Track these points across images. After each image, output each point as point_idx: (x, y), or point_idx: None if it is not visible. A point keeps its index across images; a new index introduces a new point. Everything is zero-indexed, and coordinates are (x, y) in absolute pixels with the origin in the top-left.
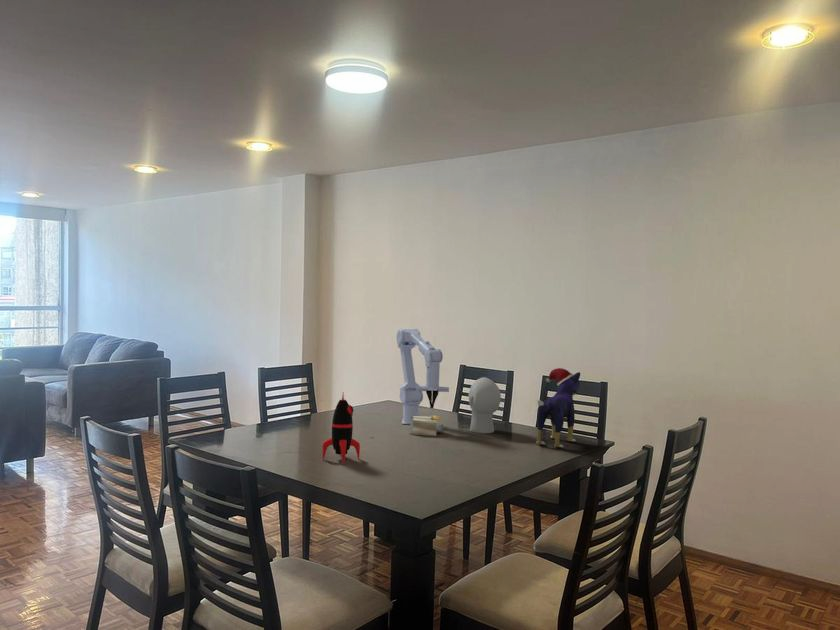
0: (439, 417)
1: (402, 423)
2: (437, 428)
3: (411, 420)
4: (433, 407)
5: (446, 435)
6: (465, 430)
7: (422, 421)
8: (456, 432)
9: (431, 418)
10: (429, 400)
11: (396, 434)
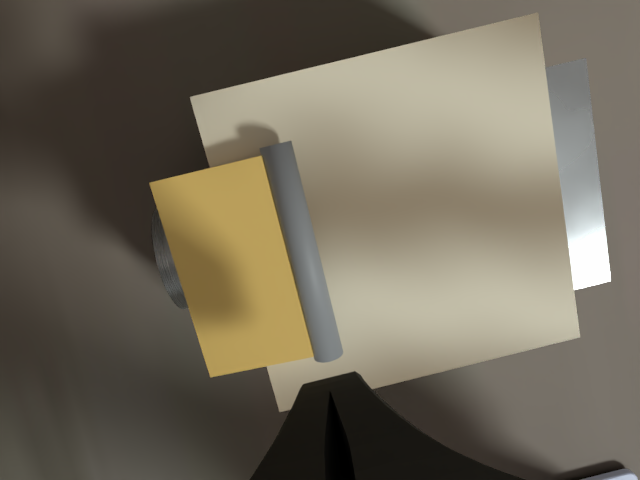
0: (189, 285)
1: (630, 471)
2: None
3: (565, 64)
4: (298, 393)
5: (121, 153)
6: (3, 445)
7: (400, 46)
8: (61, 328)
9: (283, 143)
10: (414, 432)
11: (626, 10)
